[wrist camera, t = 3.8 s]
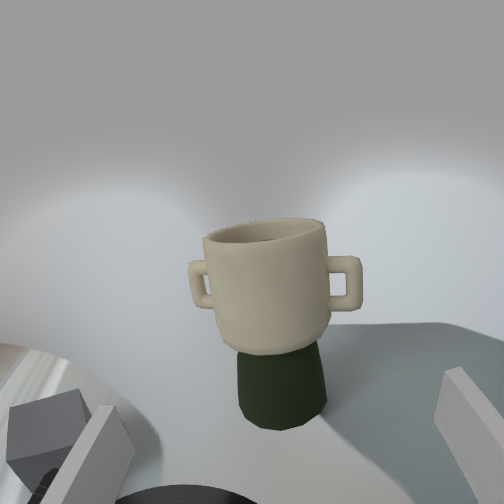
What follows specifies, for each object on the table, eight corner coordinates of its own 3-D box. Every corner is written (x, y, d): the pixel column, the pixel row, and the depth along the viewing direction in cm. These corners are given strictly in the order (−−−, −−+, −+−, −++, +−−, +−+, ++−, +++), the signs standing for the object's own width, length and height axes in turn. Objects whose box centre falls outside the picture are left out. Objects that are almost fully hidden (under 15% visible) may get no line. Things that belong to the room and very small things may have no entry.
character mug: (362, 381, 23) (361, 213, 20) (353, 447, 17) (358, 239, 13) (233, 372, 27) (207, 223, 24) (195, 426, 20) (148, 249, 17)
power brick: (34, 446, 17) (10, 407, 16) (98, 428, 20) (78, 388, 19) (45, 534, 10) (6, 496, 9) (130, 513, 13) (101, 474, 12)
